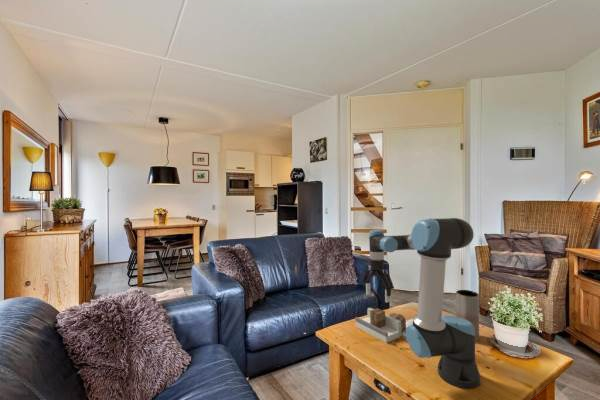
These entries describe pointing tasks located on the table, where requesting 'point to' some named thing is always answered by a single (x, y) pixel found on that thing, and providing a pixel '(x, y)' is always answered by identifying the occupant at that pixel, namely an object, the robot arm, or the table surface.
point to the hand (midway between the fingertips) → (377, 298)
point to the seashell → (400, 318)
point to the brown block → (377, 318)
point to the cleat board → (383, 333)
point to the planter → (468, 308)
